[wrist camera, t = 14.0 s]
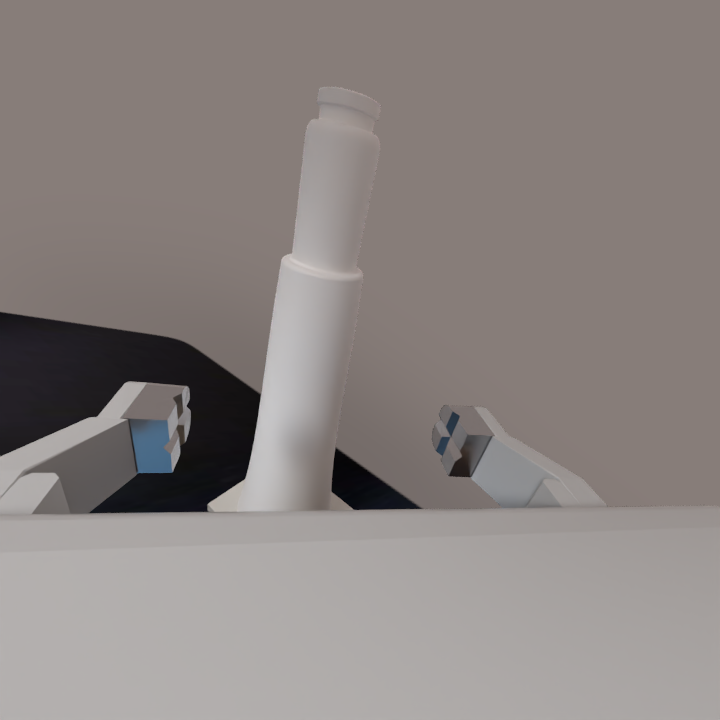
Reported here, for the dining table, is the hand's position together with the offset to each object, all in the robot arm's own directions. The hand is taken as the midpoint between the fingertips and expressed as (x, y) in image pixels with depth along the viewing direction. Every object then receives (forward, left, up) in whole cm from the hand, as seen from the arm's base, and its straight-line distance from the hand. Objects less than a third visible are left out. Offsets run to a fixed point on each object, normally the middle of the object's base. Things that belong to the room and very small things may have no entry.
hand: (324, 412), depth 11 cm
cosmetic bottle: (-4, +4, -13) cm, 14 cm away
